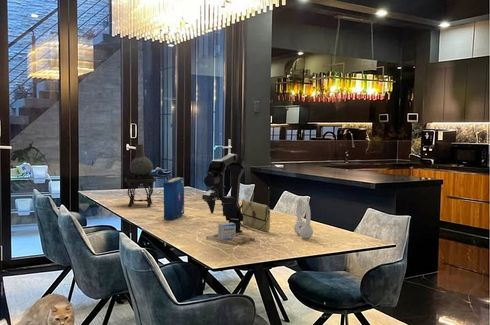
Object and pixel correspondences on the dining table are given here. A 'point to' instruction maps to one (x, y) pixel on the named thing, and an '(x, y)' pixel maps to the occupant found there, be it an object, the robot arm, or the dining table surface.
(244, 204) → the clutch purse
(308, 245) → the dining table surface
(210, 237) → the light wood flat frame
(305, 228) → the headphones
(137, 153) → the brazier
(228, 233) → the medicine box
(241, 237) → the offcut top
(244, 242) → the block
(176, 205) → the book
